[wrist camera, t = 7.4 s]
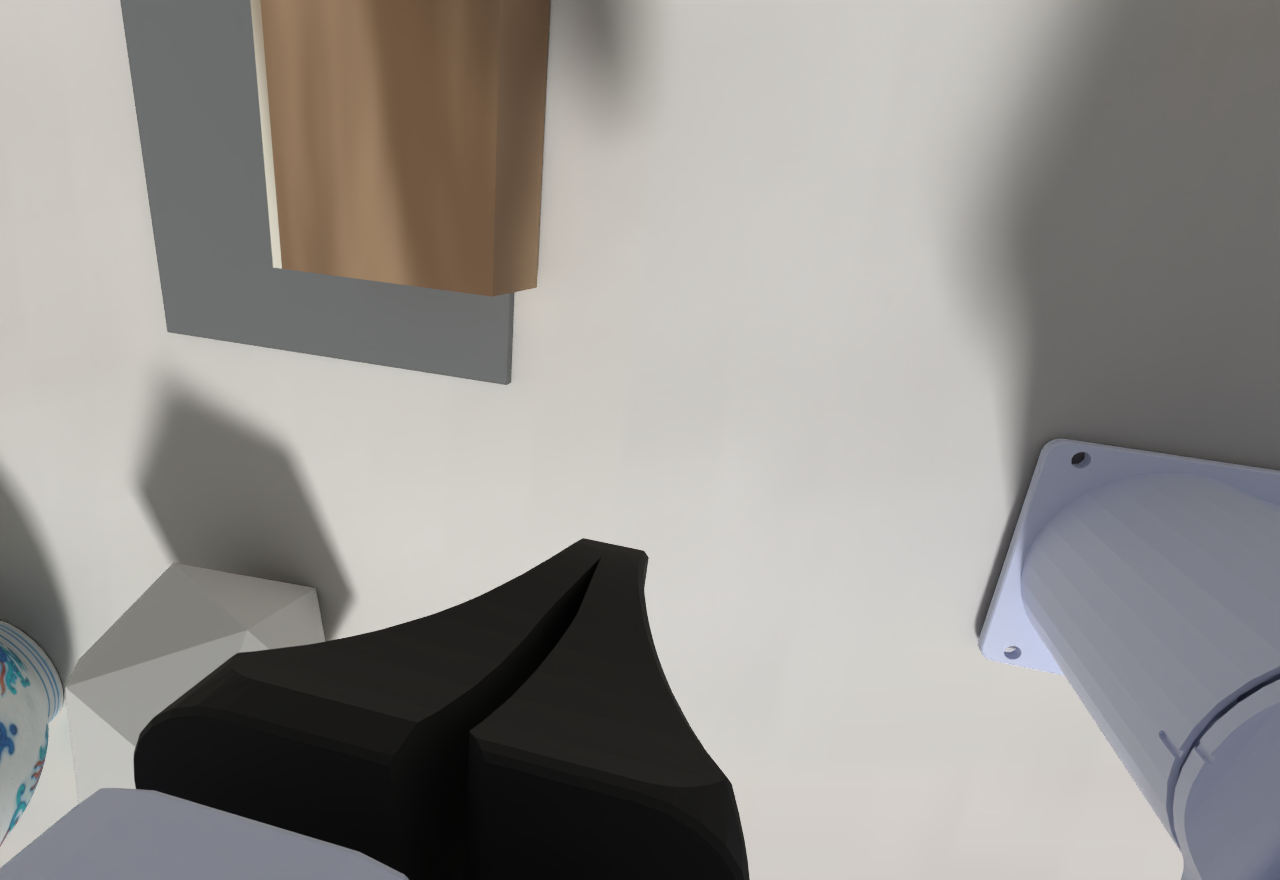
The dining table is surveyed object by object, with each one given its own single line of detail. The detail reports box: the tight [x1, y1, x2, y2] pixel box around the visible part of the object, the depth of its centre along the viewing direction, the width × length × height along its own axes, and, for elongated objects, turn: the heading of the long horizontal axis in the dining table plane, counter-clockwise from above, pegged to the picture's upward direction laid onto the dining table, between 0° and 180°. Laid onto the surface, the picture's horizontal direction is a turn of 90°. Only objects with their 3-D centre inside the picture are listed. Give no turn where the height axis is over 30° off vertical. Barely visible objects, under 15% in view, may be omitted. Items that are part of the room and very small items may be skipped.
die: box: [65, 563, 325, 803], centre depth 25 cm, size 8×9×10 cm
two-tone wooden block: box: [250, 0, 550, 297], centre depth 18 cm, size 4×9×7 cm
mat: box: [120, 0, 514, 385], centre depth 21 cm, size 14×16×1 cm
